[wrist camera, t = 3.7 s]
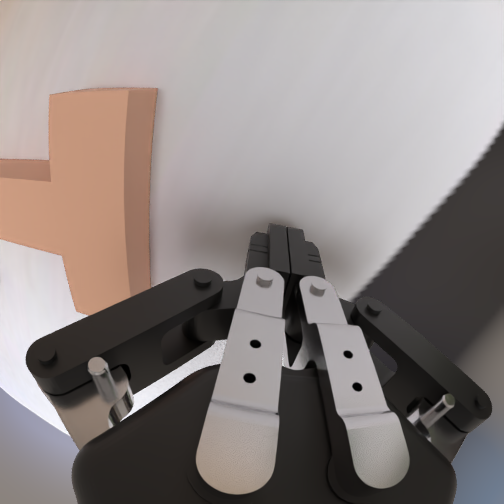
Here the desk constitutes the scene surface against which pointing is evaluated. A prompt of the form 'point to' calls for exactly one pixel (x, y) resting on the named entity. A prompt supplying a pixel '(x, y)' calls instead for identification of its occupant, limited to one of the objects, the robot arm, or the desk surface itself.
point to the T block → (88, 193)
